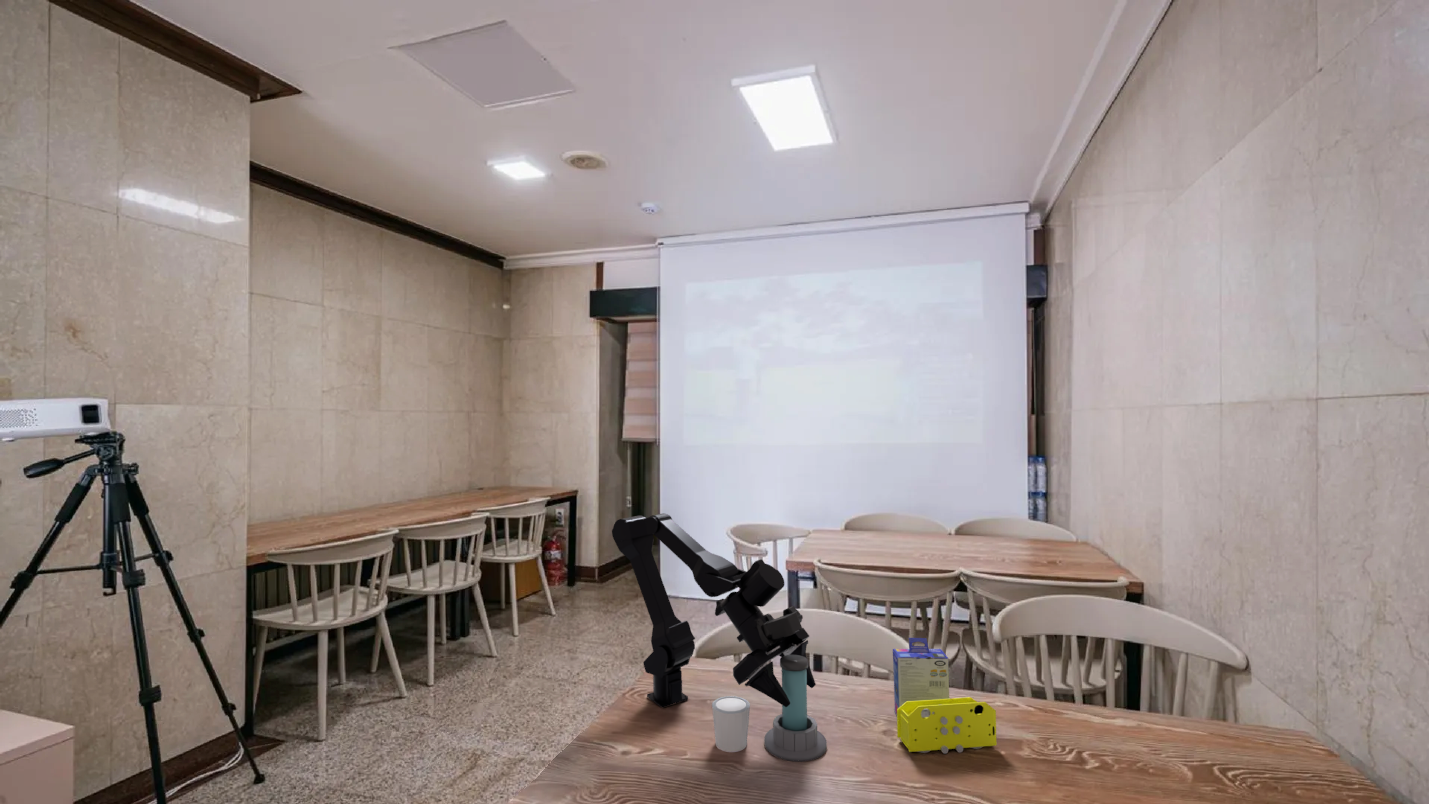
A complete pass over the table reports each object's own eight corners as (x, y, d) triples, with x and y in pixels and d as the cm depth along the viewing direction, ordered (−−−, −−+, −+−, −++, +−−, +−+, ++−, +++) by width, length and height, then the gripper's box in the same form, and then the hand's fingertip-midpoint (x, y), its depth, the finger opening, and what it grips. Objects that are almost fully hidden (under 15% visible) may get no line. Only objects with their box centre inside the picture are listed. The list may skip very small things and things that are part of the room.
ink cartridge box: (943, 710, 120) (941, 636, 120) (952, 723, 114) (950, 646, 115) (892, 708, 121) (891, 635, 121) (899, 722, 115) (897, 645, 116)
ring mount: (751, 741, 109) (751, 719, 109) (796, 722, 115) (796, 702, 115) (794, 769, 100) (793, 745, 100) (839, 747, 106) (839, 725, 106)
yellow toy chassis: (910, 758, 103) (909, 708, 103) (896, 740, 109) (895, 693, 109) (998, 751, 105) (997, 702, 105) (980, 734, 111) (979, 688, 111)
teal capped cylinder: (775, 735, 109) (775, 657, 109) (800, 730, 111) (799, 653, 111) (789, 749, 104) (788, 667, 105) (814, 743, 106) (813, 662, 107)
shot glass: (747, 756, 104) (747, 714, 104) (708, 752, 105) (708, 711, 105) (752, 735, 111) (752, 697, 111) (716, 732, 112) (715, 693, 112)
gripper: (746, 608, 103) (804, 690, 96) (799, 584, 118) (853, 654, 111) (710, 644, 108) (763, 725, 101) (766, 617, 123) (815, 686, 116)
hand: (801, 695), depth 107 cm, fingers open, 9 cm apart
